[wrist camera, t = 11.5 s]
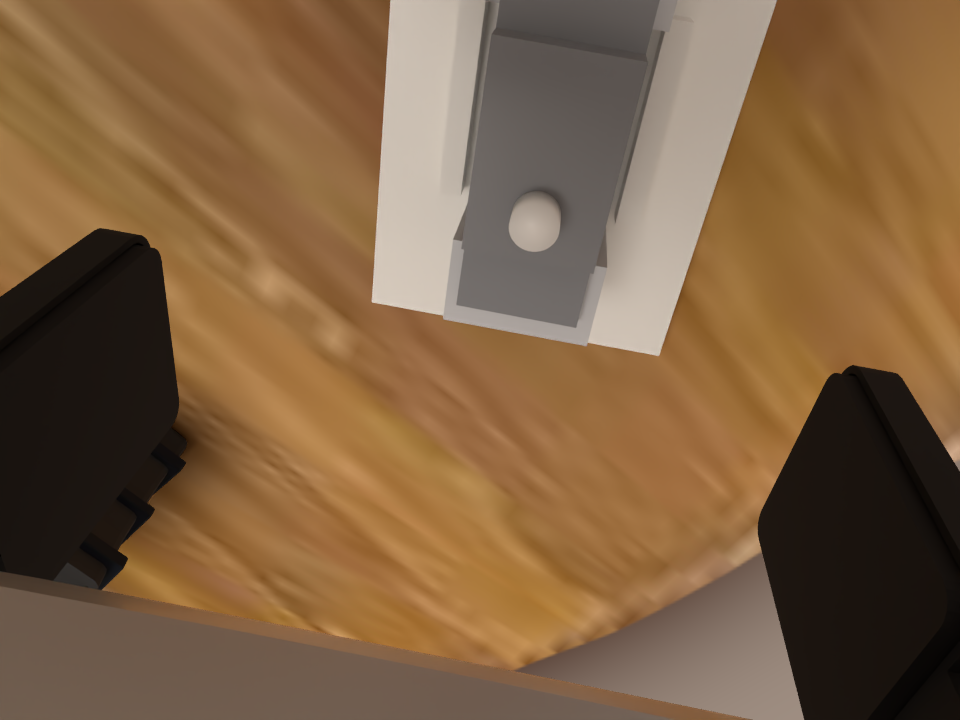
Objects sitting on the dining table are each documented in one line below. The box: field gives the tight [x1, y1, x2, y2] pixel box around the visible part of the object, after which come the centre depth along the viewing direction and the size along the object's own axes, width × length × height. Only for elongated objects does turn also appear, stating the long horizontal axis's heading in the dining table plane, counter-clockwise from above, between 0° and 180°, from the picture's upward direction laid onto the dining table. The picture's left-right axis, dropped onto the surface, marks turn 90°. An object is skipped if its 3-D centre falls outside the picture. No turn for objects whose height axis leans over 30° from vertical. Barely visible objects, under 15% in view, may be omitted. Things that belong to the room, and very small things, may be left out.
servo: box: [456, 0, 660, 328], centre depth 22 cm, size 11×4×7 cm, turn 172°
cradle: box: [372, 0, 777, 356], centre depth 24 cm, size 18×12×5 cm, turn 172°
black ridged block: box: [53, 428, 187, 590], centre depth 34 cm, size 4×13×15 cm, turn 132°
